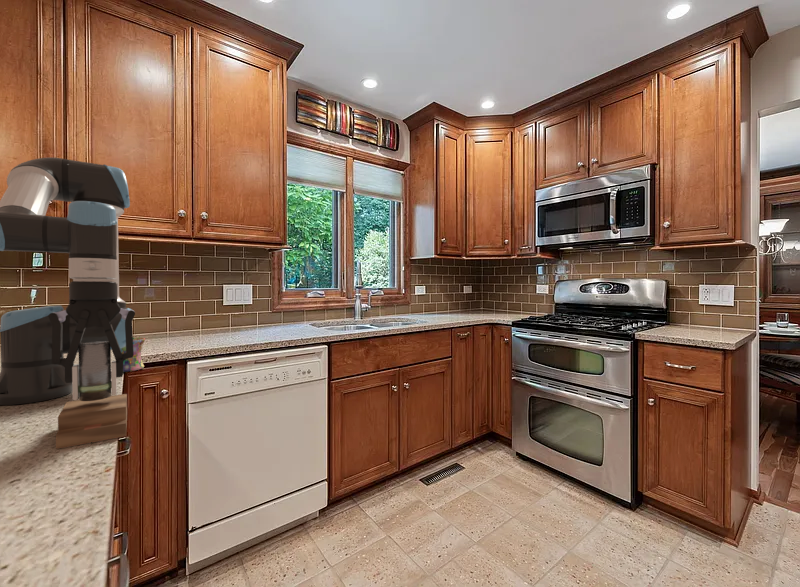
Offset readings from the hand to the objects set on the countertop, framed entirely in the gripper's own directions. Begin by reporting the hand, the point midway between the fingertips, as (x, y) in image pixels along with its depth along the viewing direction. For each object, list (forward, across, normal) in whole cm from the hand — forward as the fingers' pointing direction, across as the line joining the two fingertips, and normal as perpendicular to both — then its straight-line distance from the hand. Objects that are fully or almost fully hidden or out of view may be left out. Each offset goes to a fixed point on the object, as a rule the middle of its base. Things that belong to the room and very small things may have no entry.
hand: (95, 395), depth 76 cm
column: (0, 0, 0) cm, 0 cm away
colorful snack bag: (+7, +5, +59) cm, 60 cm away
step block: (+7, 0, -1) cm, 7 cm away
